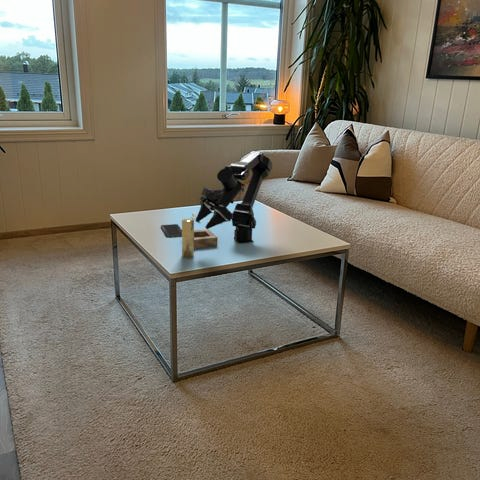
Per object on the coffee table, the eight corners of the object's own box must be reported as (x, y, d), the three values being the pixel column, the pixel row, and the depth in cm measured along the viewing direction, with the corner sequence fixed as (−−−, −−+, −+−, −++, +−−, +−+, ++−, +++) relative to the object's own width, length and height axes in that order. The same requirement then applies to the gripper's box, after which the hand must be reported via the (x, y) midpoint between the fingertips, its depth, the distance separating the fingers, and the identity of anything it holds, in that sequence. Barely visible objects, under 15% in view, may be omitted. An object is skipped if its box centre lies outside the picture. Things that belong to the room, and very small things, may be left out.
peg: (191, 253, 180) (191, 218, 175) (195, 257, 176) (195, 221, 171) (180, 254, 178) (180, 219, 173) (183, 258, 174) (183, 222, 170)
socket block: (208, 236, 198) (208, 229, 197) (217, 245, 189) (217, 237, 188) (183, 239, 194) (183, 231, 193) (191, 248, 185) (191, 240, 184)
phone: (166, 235, 196) (160, 225, 209) (166, 238, 196) (160, 227, 209) (185, 234, 198) (177, 223, 211) (185, 237, 198) (177, 226, 212)
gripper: (204, 174, 180) (177, 205, 178) (226, 185, 164) (196, 218, 163) (222, 193, 186) (196, 222, 185) (245, 204, 171) (216, 237, 169)
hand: (201, 224), depth 175 cm, fingers open, 9 cm apart
